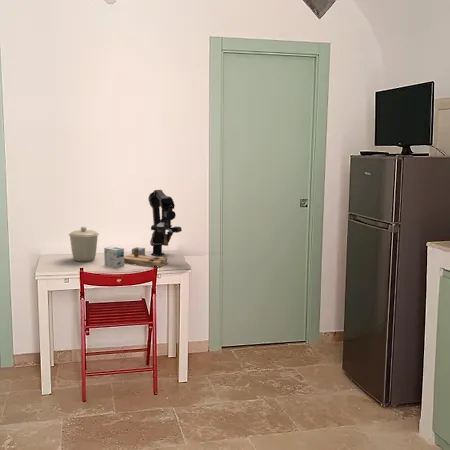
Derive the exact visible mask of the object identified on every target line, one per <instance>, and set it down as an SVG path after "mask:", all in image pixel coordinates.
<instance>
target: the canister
mask: <svg viewBox="0 0 450 450" xmlns="http://www.w3.org/2000/svg"><path fill="white" fill-rule="evenodd" d="M99 235H100V234H99V233H98V232H97V231H95V230H92V229H87V227H86V226H81V227H80V229H77V230H73V231H71V232H70V233H68V236H69V240H70V247H71V253H72V258H73V260H74V261H76V262H83V263H84V262H91V261H93V260H94V259H96V255H97V248H98V247H97V246H98V236H99Z"/></svg>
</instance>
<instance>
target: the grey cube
mask: <svg viewBox="0 0 450 450" xmlns="http://www.w3.org/2000/svg"><path fill="white" fill-rule="evenodd" d="M134 248H138V255H143V256H146V247H137V246H136V247H134ZM134 248H131V254H134Z"/></svg>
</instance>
